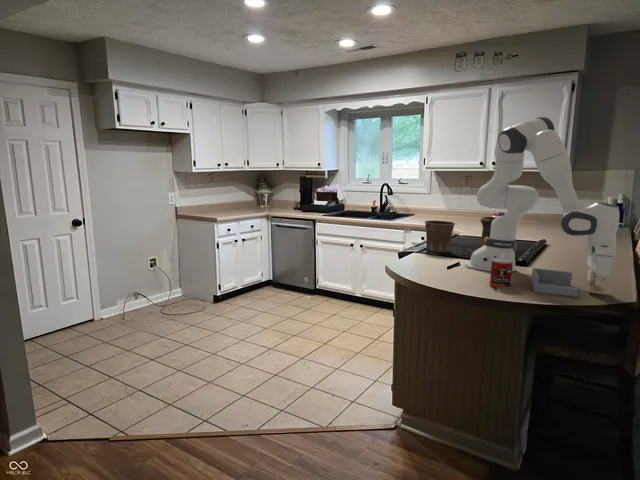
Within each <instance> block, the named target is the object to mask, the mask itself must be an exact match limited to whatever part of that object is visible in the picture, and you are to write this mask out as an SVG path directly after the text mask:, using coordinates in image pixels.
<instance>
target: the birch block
mask: <svg viewBox="0 0 640 480" xmlns="http://www.w3.org/2000/svg"><path fill="white" fill-rule="evenodd" d="M595 278H596V274H595V273H594V271H593V270H591V268H590V269H589V268H588V269H587V274H586V281H585V282H586V283H585V288H586V289H587V291H591V292H597V293H598V292H599V293H605V288H606V281H607V277H603V278H602V281H601V285H600V286H598V285H595V284H594V281H595Z"/></svg>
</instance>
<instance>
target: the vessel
mask: <svg viewBox="0 0 640 480" xmlns="http://www.w3.org/2000/svg"><path fill="white" fill-rule="evenodd" d="M497 217H498V216H494V217H493V216H483V217H481V218H480V223H481V224H482V231H481V232H482V233H481V247H482V246H484V245H485V240H484V239H485V237H488V238H489V237H490V232H491V223H492V221H493V220H494V219H495V218H497Z"/></svg>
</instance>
